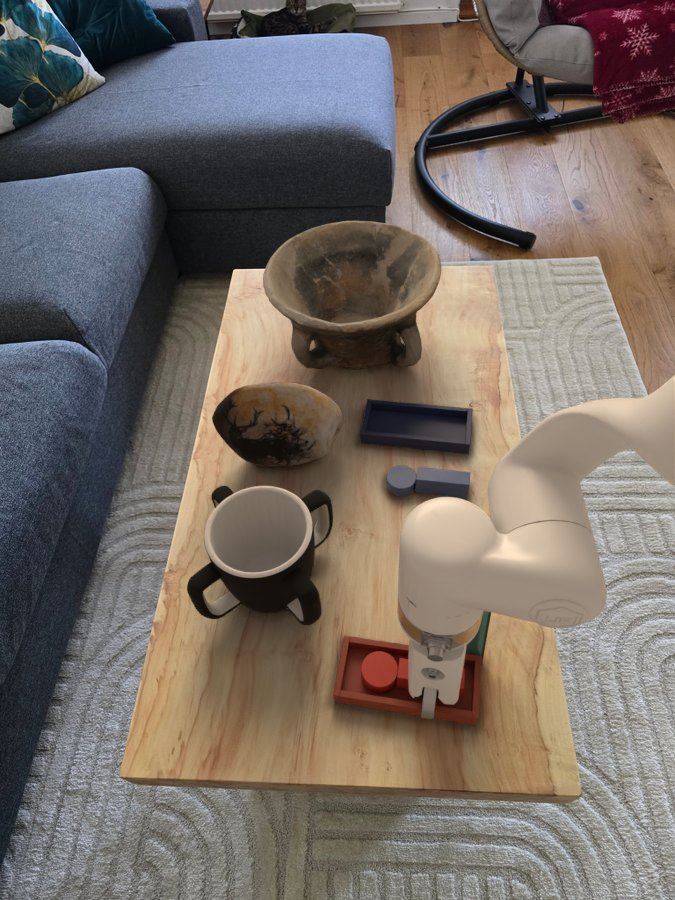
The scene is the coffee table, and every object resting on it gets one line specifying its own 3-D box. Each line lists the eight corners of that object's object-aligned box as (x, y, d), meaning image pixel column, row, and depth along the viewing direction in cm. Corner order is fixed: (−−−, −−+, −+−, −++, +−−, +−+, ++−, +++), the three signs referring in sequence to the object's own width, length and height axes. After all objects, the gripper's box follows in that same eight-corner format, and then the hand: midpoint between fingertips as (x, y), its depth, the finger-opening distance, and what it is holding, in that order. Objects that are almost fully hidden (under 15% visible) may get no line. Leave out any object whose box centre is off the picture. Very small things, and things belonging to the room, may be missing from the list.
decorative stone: (345, 434, 99) (339, 359, 87) (345, 483, 93) (339, 409, 82) (226, 438, 100) (205, 364, 88) (219, 487, 94) (195, 414, 83)
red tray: (479, 663, 76) (481, 655, 75) (476, 725, 72) (478, 718, 70) (345, 643, 79) (344, 635, 77) (334, 702, 74) (333, 695, 73)
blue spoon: (468, 480, 93) (470, 466, 90) (467, 504, 90) (469, 490, 88) (388, 471, 94) (388, 458, 92) (384, 494, 92) (384, 481, 89)
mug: (232, 517, 91) (214, 462, 82) (349, 536, 88) (344, 480, 79) (189, 630, 81) (163, 581, 72) (319, 655, 78) (310, 607, 69)
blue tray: (471, 418, 100) (472, 408, 98) (468, 454, 95) (470, 444, 94) (367, 408, 102) (367, 398, 100) (360, 443, 98) (359, 433, 96)
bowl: (292, 287, 122) (281, 212, 110) (440, 294, 118) (446, 217, 107) (258, 395, 105) (242, 319, 94) (430, 406, 102) (436, 329, 90)
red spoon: (462, 671, 75) (465, 660, 73) (459, 707, 73) (463, 697, 70) (364, 654, 77) (364, 644, 74) (358, 689, 74) (358, 679, 72)
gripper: (478, 701, 55) (459, 765, 69) (487, 534, 64) (468, 620, 79) (385, 686, 56) (385, 752, 70) (408, 524, 66) (404, 610, 80)
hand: (429, 681), depth 74 cm, fingers closed on red spoon, 2 cm apart
